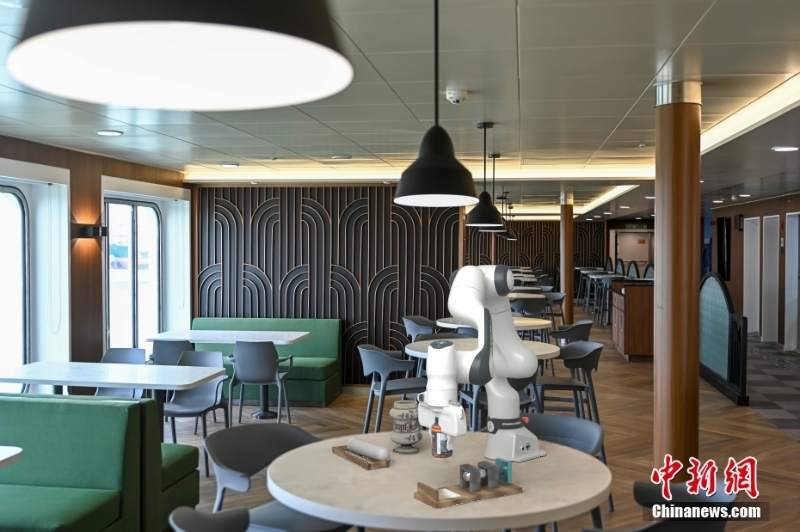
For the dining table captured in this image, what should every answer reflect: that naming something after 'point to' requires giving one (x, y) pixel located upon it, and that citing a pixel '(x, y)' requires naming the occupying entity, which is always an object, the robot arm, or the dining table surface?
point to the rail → (467, 487)
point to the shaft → (503, 471)
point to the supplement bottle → (439, 441)
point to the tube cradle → (368, 466)
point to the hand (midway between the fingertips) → (442, 446)
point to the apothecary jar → (405, 426)
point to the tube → (368, 449)
